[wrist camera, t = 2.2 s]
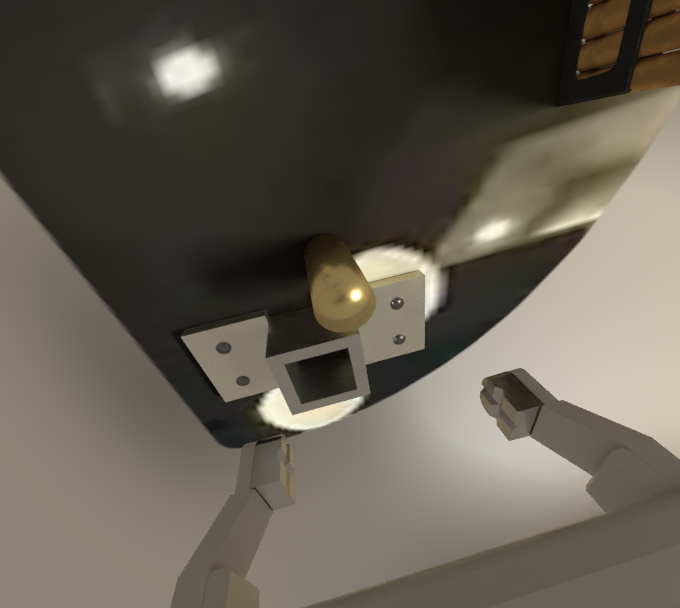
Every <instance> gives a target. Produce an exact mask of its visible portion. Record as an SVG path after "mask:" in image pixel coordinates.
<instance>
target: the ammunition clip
mask: <svg viewBox="0 0 680 608" xmlns="http://www.w3.org/2000/svg"><path fill="white" fill-rule="evenodd" d="M679 8H680V0H572V7H571V14H570V21H569V27H568V34H567V41H566V48H565V55H564V61H563V68H562V75H561V82H560V89H559V95H558V102H557V106H558V107H559V106H565V105H570V104H575V103H580V102H585V101H590V100H595V99H600V98H606V97H611V96H616V95H621V94H626V93H630V92H637V91H644V90H650V89H657V88H664V87H670V86H677V85H680V50H679V51H675V52H670V53H666V54H663V52H665V51H669V50H674V49H678V48H680V11H677V12H676V10H677V9H679ZM650 18H652V20H650V21H648V19H650ZM621 28H624V29H622V30H619V31H616V32H613V33H610V34H607V33H609V32H612V31H615V30H618V29H621ZM605 34H607V35H605ZM637 58H638V59H637ZM612 64H614V65H613V66H608V65H612ZM603 66H608V67H604V68H599V67H603Z"/></svg>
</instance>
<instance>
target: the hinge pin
mask: <svg viewBox="0 0 680 608" xmlns="http://www.w3.org/2000/svg"><path fill="white" fill-rule="evenodd" d="M304 259H305V264H306V270H307V276H308V282H309V287H310V293H311V299H312V305H313V310H314V315H315V318H316V320H317V321H318V323H319V324H320V325H321V326H323V327H324V328H326V329H328V330H330V331H334V332H348V331H352V330H355V329H357V328H359V327H361V326H362V325H364V324H365V323H366V322H367V321H368V320H369V319H370V318H371V316H372V315H373V313H374V310H375V307H376V297H375V294H374V292H373V290H372V288H371V287H370V285H369V283H368V282H367V280H366V278H365V277H364V275H363V273H362V271H361V270H360V268H359V266H358V265H357V263H356V261H355V260H354V258H353V256H352V255H351V253H350V251H349V250H348V248H347V246H346V245H345V243H344V242H343V240H342V239H341V238H339V237H338V236H336V235H334V234H330V233H323V234H319V235H317V236H315V237H313V238H312V239H311V240H310V241H309V242H308V244H307V245H306V248H305V251H304Z"/></svg>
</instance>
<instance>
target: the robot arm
mask: <svg viewBox="0 0 680 608" xmlns="http://www.w3.org/2000/svg"><path fill="white" fill-rule="evenodd" d="M482 385H483V386H484V388H483V390H482V391H481V392H480V399H481V402H482V405H483V407H484V408H485V410H486V411H487V413H488V414H489V415H490V416H492V417H494V418H496V419H497V426H498V427H499V428H500V430H501V431H502V432H503V434H504V435H505V436H506V438H507V439H508V440H509V441H511V440H514V439H518V438H522V437H526V436H530V435H531V437H532V438H533V439H535V440H537V441H538V442H540V443H541V444H543V445H545V446H546V447H548V448H549V449H551V450H553V451H554V452H556V453H557V454H559V455H560V456H562V457H563V458H565V459H567V460H568V461H570V462H571V463H573V464H575V465H577V466H578V467H579V468H581V469H583V470H584V471H586V472H587V473H589V474H590V475H592V476H593V477H592V478H591V480H590V481H589V483H588V484H587V485H586V491H587V492H588V493H589V494H590V495H591V497H592V498H593V499H594V500H595V501H596V502H597V503H598V505H599V506H600V507H601V508H602V509H603V510H604V511H605V513H603V514H600V515H597V516H594V517H591V518H587V519H584V520H581V521H577V522H574V523H571V524H568V525H565V526H561V527H559V528H555V529H552V530H549V531H546V532H543V533H539V534H536V535H533V536H530V537H526V538H523V539H520V540H517V541H514V542H510V543H508V544H504V545H501V546H498V547H495V548H492V549H488V550H485V551H482V552H479V553H475V554H472V555H469V556H466V557H463V558H460V559H456V560H453V561H450V562H447V563H444V564H441V565H437V566H434V567H431V568H428V569H424V570H421V571H418V572H415V573H412V574H408V575H405V576H402V577H399V578H396V579H392V580H389V581H386V582H383V583H380V584H377V585H374V586H370V587H367V588H364V589H361V590H358V591H354V592H351V593H348V594H345V595H342V596H339V597H335V598H332V599H329V600H326V601H323V602H319V603H316V604H313V605H310V606H306V607H303V608H680V459H678V458H677V457H676V456H674V455H673V454H672V453H671V452H669V451H668V450H667V449H666V448H664V447H663V446H662V445H661V444H659V443H658V442H657V441H656V440H654V439H653V438H651V437H649V436H647V435H644V434H642V433H640V432H637V431H635V430H632V429H630V428H628V427H625V426H623V425H621V424H618V423H616V422H613V421H611V420H608V419H606V418H604V417H602V416H599V415H597V414H594V413H592V412H590V411H587V410H585V409H583V408H580V407H578V406H575V405H573V404H571V403H568V402H566V401H563V400H562V401H558V400H557V399H556V398H555V397H554V396H553V395H552V394H551V393H550V392H548V391H547V390H546V389H545V388H544V387H543V386H542V385H541V384H540V383H539V382H537V381H536V380H535V379H534V378H533V377H532V376H531V375H530V374H529V373H528V372H526V371H525V370H524V369H522V368H519V369H515V370H512V371H508V372H503V373H500V374H497V375H493V376H490V377H487V378H484V379H483V381H482ZM294 471H295V465H294V457H293V452H292V449H291V447H290V445H288V444H286V437H285V436H284V434H282V435H279V436H275V437H271V438H267V439H264V440H260V441H256V442H252V443H248V444H245V445H243V448H242V450H241V457H240V462H239V469H238V476H237V482H236V488H235V494H233V495H231V496H230V497H229V499H228V500H227V502H226V503H225V505H224V506H223V508H222V510H221V511H220V513H219V514H218V516H217V518H216V519H215V521H214V523H213V524H212V526H211V527H210V529H209V530H208V532H207V533H206V535H205V537H204V538H203V540H202V541H201V543H200V545H199V546H198V548H197V549H196V551H195V553H194V554H193V556H192V557H191V559H190V560H189V562H188V564H187V565H186V567H185V569H184V570H183V572H182V573H181V575H180V576H179V578H178V580H177V584H176V588H175V591H174V595H173V599H172V603H171V607H170V608H259V593H260V591H259V590H258V588H257V587H256V586H255V585H253V584H252V583H250V582H249V581H247V580H246V579H245V577H246V575H247V572H248V570H249V568H250V565H251V563H252V561H253V559H254V556H255V554H256V551H257V549H258V546H259V544H260V542H261V539H262V537H263V535H264V533H265V530H266V528H267V525H268V523H269V521H270V518H271V516H272V514H273V510H276V509H280V508H283V507H286V506H289V505H292V504H295V482H294V481H293V479H292V477H291V476H292V475H293V473H294Z"/></svg>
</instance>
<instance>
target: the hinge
mask: <svg viewBox="0 0 680 608" xmlns="http://www.w3.org/2000/svg"><path fill="white" fill-rule="evenodd" d="M369 285H370V287H371V288H372V290H373V292H374V294H375V297H376V307H375V310H374V313H373V315H372V316H371V318H370V319H369V320H368V321H367V322H366V323H365V324H364V325H362V326H361V327H359V328H357V329H355V330H352V331H348V332H334V331H330V330H328V329H326V328H324V327H323V326H321V325H320V324H319V323H318V321H317V320H316V318H315V315H314V310H313V306H310V307H306V308H302V309H298V310H294V311H290V312H286V313H282V314H278V315H274V316H270V317H269V316H268V313H267V311H266V309H263V310H259V311H255V312H251V313H247V314H243V315H239V316H235V317H231V318H227V319H223V320H219V321H215V322H211V323H207V324H203V325H199V326H195V327H191V328H187V329H185V330H184V331H183V333H182V335H181V338H182V340H183V341H184V343H185V344H186V346H187V347H188V348H189V350H190V351H191V353H192V354H193V356H194V357H195V359H196V360H197V362H198V363H199V364H200V366H201V367H202V369H203V370H204V372H205V373H206V375H207V376H208V377H209V379H210V380H211V382H212V383H213V385H214V386H215V388H216V389H217V390H218V392H219V393H220V395H221V396H222V398H223V399H224V401H225V402H228V401H231V400H235V399H239V398H243V397H246V396H250V395H254V394H258V393H261V392H265V391H269V390H272V389H276V388H280V390H281V392H282V394H283V396H284V398H285V400H286V403H287V405H288V407H289V409H290V411H291V413H292V415H295V414H298V413H302V412H306V411H309V410H313V409H317V408H320V407H324V406H327V405H331V404H335V403H338V402H342V401H346V400H349V399H353V398H357V397H360V396H364V395H367V394H370V388H369V383H368V377H367V371H366V366H365V364H369V363H373V362H377V361H380V360H384V359H388V358H391V357H395V356H399V355H403V354H406V353H410V352H414V351H418V350H421V349H424V344H425V275H424V274H423V273H422V272H421V271H420V270H419V271H415V272H411V273H407V274H403V275H399V276H395V277H391V278H387V279H383V280H379V281H375V282H371V283H369Z"/></svg>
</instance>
